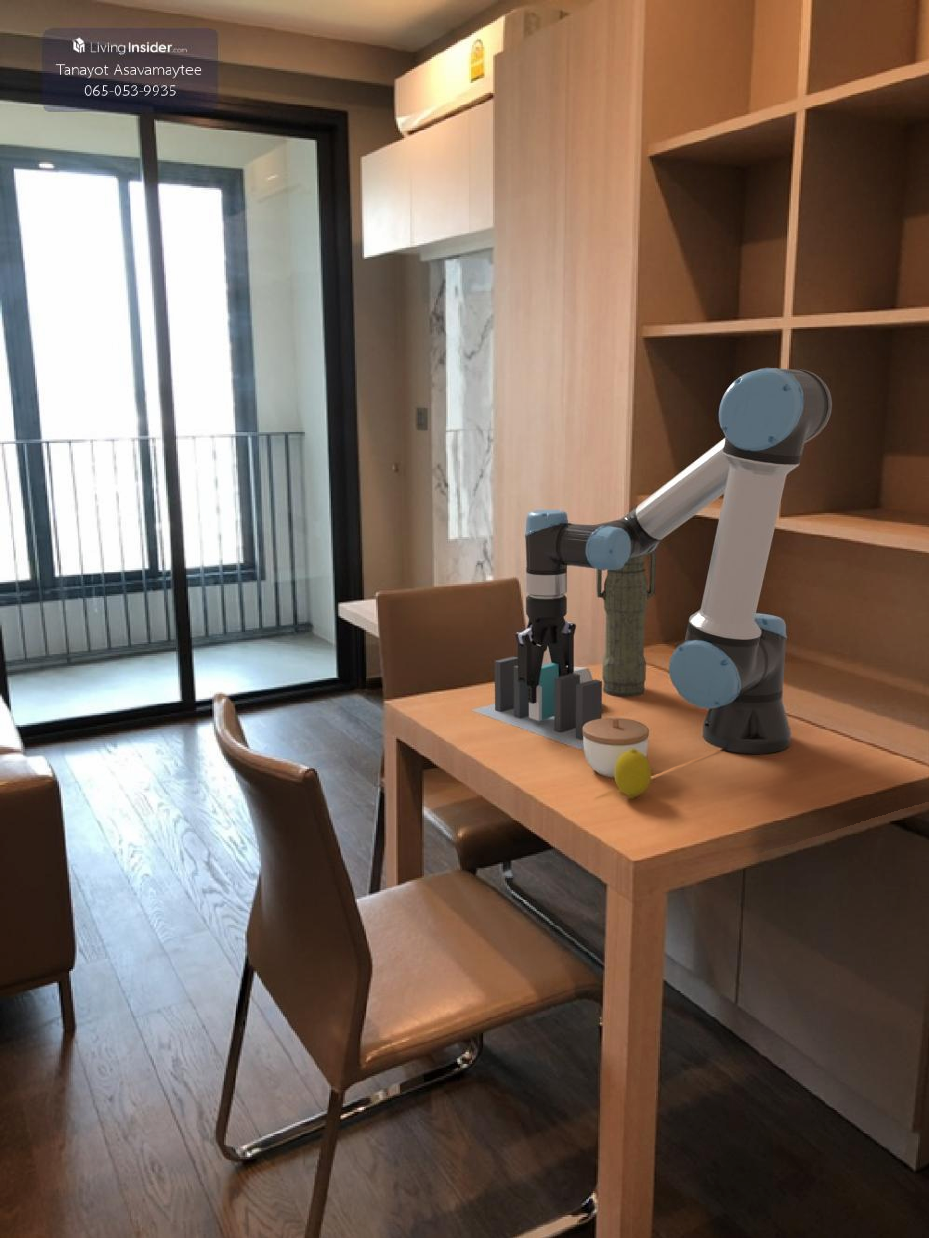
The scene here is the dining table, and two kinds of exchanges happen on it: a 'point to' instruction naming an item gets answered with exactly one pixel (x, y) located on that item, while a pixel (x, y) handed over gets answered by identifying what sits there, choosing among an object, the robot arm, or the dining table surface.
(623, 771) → the lemon
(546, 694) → the teal domino
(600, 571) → the thermos
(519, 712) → the domino
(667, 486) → the robot arm
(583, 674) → the die
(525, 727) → the mat
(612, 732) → the lidded jar
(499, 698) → the domino
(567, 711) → the domino
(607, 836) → the dining table surface
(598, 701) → the domino
